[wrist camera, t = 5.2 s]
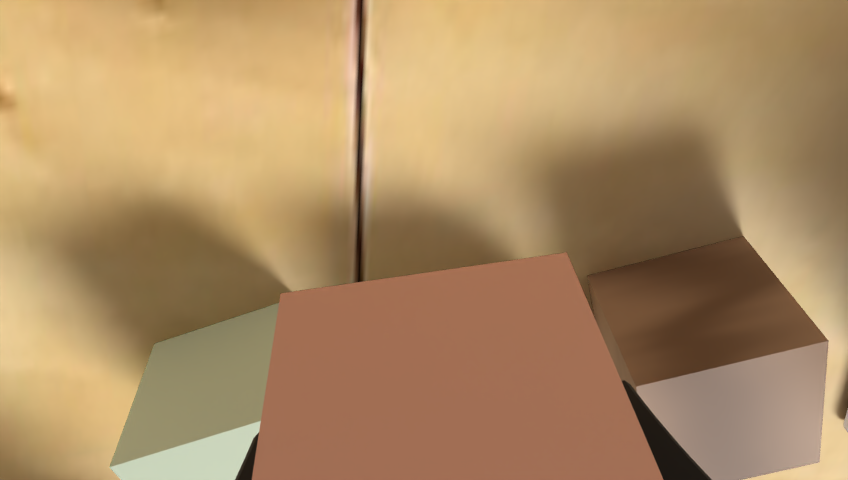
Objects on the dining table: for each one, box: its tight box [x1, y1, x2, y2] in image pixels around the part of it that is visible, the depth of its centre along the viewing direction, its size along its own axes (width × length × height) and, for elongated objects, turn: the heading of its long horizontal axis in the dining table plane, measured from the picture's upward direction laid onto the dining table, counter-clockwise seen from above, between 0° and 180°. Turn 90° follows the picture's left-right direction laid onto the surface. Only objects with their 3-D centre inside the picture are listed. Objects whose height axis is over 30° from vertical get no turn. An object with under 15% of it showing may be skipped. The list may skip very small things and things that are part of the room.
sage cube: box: [110, 303, 279, 480], centre depth 22 cm, size 5×5×5 cm
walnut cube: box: [587, 236, 828, 480], centre depth 22 cm, size 5×5×5 cm
